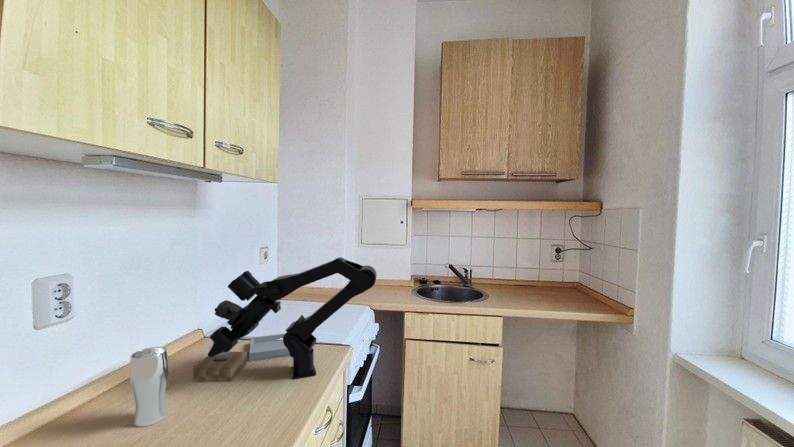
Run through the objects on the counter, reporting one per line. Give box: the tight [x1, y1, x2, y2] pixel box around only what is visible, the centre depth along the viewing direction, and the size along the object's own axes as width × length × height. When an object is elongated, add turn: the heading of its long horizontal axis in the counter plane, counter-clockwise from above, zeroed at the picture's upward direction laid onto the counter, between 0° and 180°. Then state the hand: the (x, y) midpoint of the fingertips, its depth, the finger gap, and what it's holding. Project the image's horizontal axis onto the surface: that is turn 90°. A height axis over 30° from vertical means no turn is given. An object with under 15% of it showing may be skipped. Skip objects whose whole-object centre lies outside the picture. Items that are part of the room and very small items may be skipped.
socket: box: [193, 351, 248, 383], centre depth 96 cm, size 10×10×4 cm
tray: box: [248, 332, 291, 362], centre depth 112 cm, size 14×14×2 cm
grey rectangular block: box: [212, 341, 231, 361], centre depth 96 cm, size 4×2×11 cm, turn 91°
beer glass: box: [129, 346, 170, 428], centre depth 74 cm, size 7×7×15 cm
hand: (216, 350), depth 95 cm, fingers open, 7 cm apart
